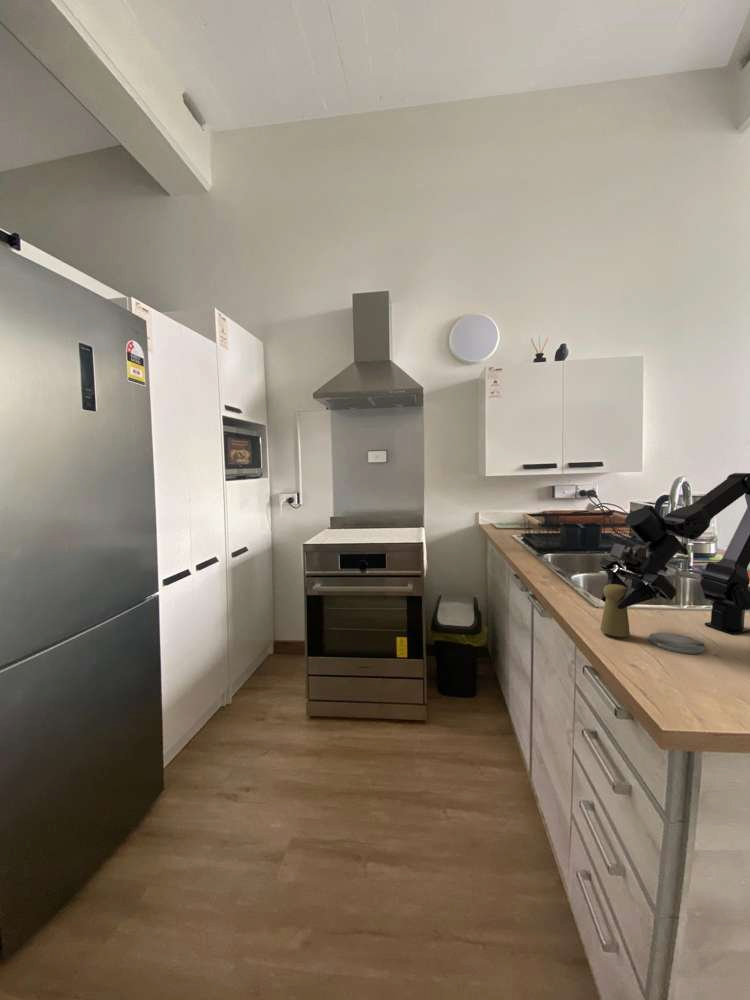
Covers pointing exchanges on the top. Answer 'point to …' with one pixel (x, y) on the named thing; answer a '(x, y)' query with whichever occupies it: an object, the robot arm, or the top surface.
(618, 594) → the cork
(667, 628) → the top surface
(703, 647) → the coaster
